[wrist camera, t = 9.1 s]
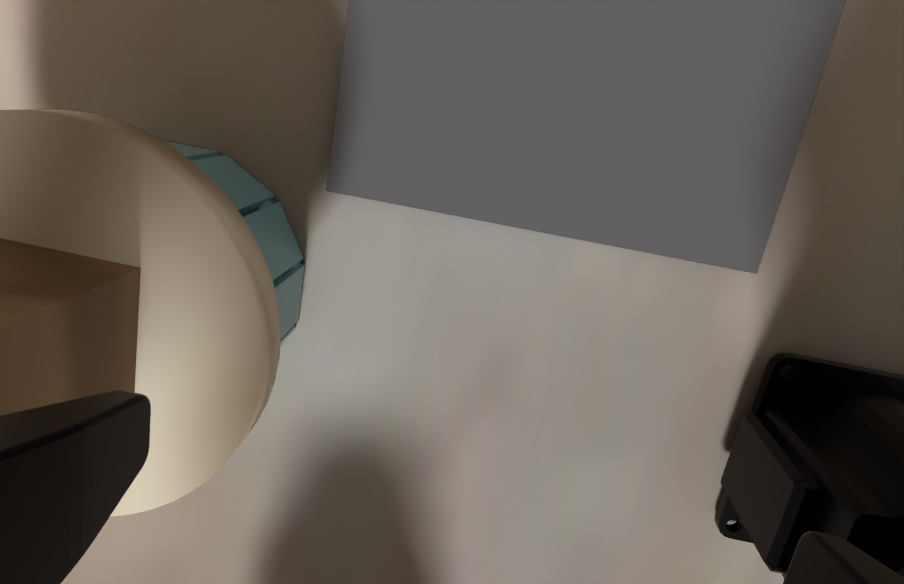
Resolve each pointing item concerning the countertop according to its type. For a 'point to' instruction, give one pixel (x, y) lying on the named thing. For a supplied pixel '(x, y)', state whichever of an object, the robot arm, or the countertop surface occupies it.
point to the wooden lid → (131, 291)
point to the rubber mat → (584, 115)
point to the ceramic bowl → (259, 227)
